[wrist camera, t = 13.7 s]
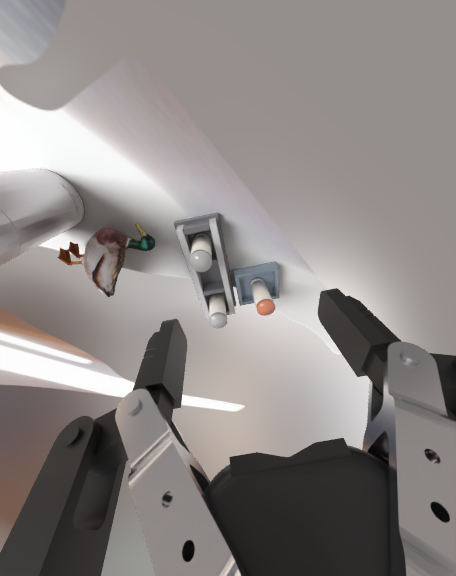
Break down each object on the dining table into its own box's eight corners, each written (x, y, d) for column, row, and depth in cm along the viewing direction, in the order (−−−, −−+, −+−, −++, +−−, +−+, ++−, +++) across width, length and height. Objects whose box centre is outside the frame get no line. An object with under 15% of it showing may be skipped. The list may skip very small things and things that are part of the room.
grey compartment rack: (204, 308, 50) (204, 320, 46) (174, 221, 36) (171, 228, 33) (235, 302, 49) (237, 314, 46) (217, 212, 36) (218, 219, 32)
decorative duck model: (147, 228, 30) (163, 302, 39) (154, 217, 37) (166, 283, 45) (41, 231, 28) (82, 310, 36) (67, 219, 34) (97, 288, 42)
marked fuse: (250, 291, 46) (258, 316, 39) (248, 279, 44) (256, 304, 37) (264, 288, 46) (275, 313, 39) (263, 276, 44) (274, 300, 37)
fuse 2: (211, 302, 47) (211, 329, 40) (207, 291, 45) (207, 317, 38) (225, 299, 47) (228, 326, 40) (222, 288, 45) (225, 314, 37)
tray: (238, 298, 49) (239, 305, 47) (233, 270, 44) (234, 275, 41) (276, 291, 48) (279, 297, 46) (275, 261, 43) (278, 267, 41)
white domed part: (195, 251, 39) (193, 273, 32) (190, 234, 37) (186, 254, 29) (212, 248, 39) (214, 269, 31) (208, 230, 37) (209, 250, 29)
